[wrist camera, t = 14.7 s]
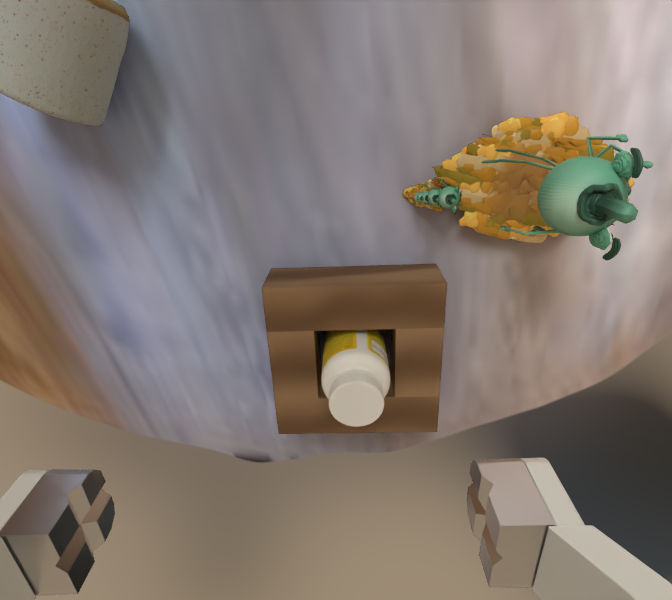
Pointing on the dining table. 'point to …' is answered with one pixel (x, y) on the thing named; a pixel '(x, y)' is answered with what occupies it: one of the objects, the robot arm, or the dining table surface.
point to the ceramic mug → (62, 55)
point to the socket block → (356, 314)
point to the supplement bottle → (355, 375)
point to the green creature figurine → (537, 182)
